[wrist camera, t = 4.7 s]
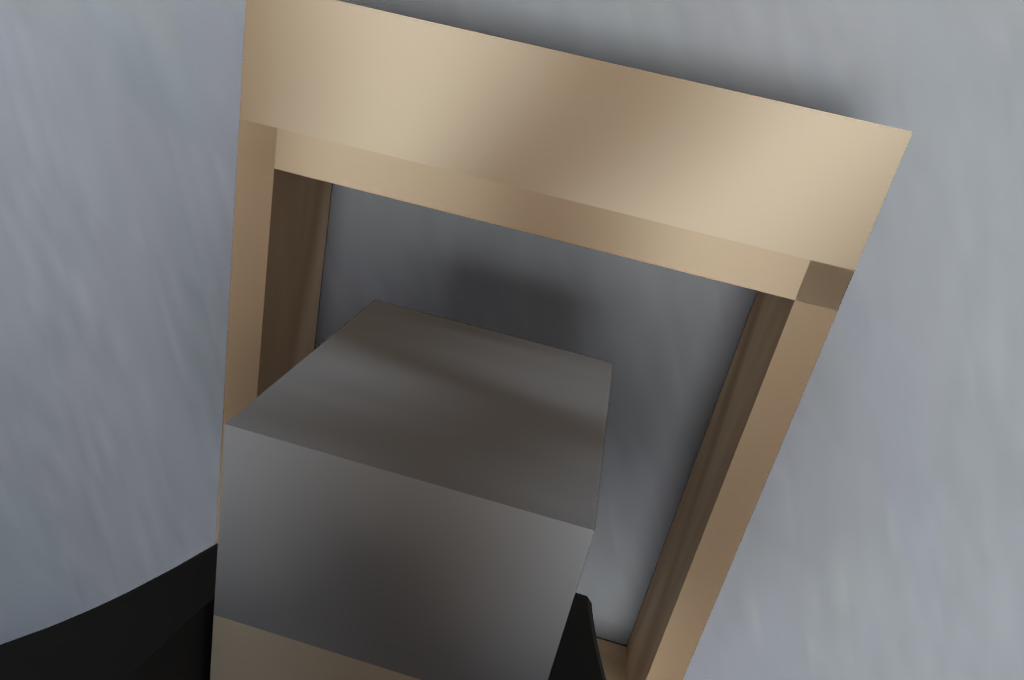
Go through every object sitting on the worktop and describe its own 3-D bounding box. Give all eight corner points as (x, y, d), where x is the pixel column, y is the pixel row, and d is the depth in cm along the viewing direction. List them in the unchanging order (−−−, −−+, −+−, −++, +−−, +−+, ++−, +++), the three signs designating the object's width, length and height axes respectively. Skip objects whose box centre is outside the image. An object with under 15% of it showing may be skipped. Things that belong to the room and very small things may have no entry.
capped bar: (324, 655, 16) (198, 883, 12) (375, 299, 13) (224, 424, 8) (509, 713, 16) (454, 973, 11) (613, 363, 12) (594, 530, 8)
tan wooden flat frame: (261, 618, 23) (207, 693, 20) (318, -4, 16) (247, -21, 13) (623, 732, 22) (620, 828, 19) (861, 121, 14) (912, 132, 12)
